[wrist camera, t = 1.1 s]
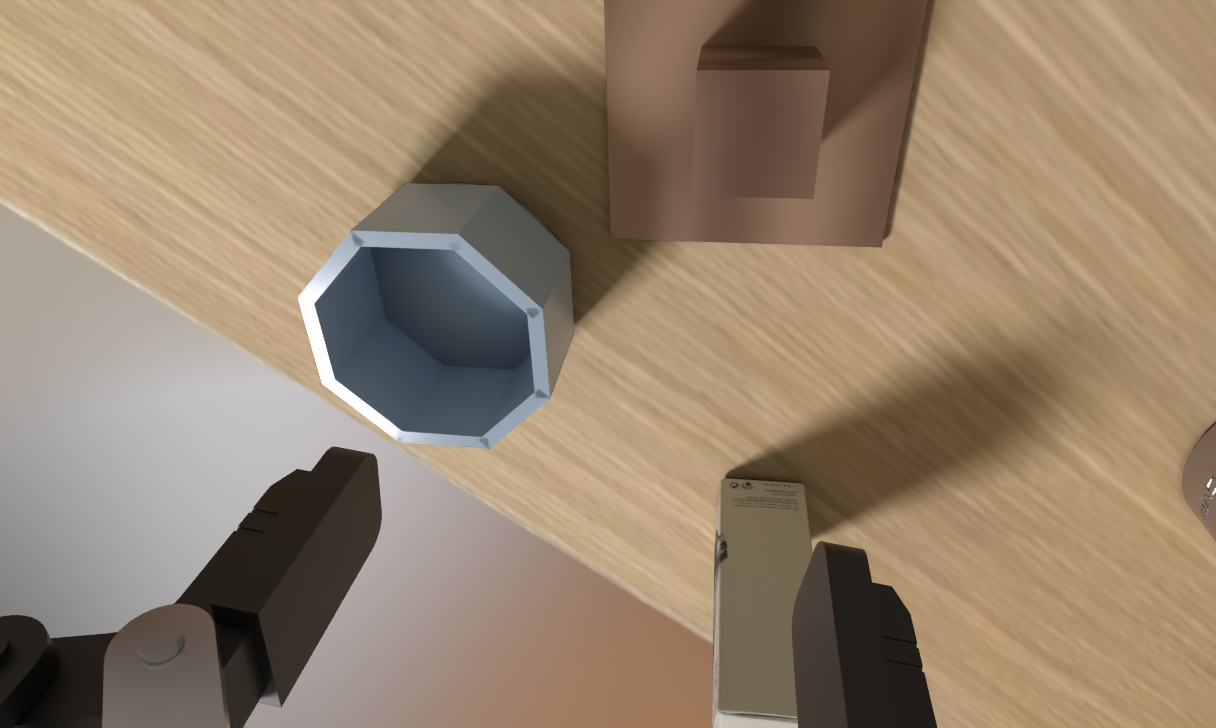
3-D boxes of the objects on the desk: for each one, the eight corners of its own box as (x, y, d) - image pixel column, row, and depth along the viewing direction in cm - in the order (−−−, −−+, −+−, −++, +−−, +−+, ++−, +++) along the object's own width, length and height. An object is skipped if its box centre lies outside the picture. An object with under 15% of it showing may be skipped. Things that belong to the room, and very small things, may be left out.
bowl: (570, 180, 30) (537, 236, 25) (580, 375, 35) (554, 454, 30) (351, 175, 31) (277, 227, 26) (391, 363, 36) (337, 437, 31)
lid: (934, -74, 24) (983, -69, 19) (877, 237, 30) (903, 298, 25) (606, -66, 25) (579, -59, 21) (613, 229, 31) (593, 285, 27)
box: (719, 473, 37) (713, 706, 26) (807, 480, 36) (838, 721, 26) (713, 546, 40) (706, 783, 29) (795, 553, 39) (818, 798, 29)
